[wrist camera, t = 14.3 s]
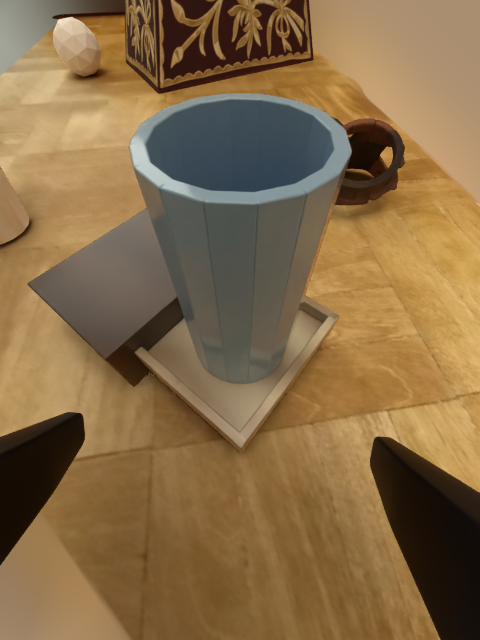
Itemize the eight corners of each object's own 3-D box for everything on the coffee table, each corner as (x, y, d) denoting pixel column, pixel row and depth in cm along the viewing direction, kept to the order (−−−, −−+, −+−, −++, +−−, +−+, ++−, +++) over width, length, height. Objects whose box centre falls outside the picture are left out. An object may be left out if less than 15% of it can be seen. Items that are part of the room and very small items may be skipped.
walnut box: (226, 476, 17) (220, 472, 12) (66, 321, 23) (26, 283, 19) (335, 326, 22) (357, 288, 18) (184, 234, 29) (174, 190, 24)
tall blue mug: (287, 387, 17) (369, 208, 6) (188, 381, 17) (96, 197, 6) (285, 278, 22) (328, 67, 11) (207, 274, 22) (173, 65, 11)
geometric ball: (103, 88, 57) (114, 44, 52) (76, 84, 51) (86, 34, 46) (70, 60, 55) (79, 12, 51) (38, 52, 49) (45, -4, 44)
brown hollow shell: (403, 192, 33) (438, 146, 25) (342, 244, 34) (355, 216, 26) (336, 130, 35) (348, 68, 27) (280, 181, 36) (276, 137, 28)
